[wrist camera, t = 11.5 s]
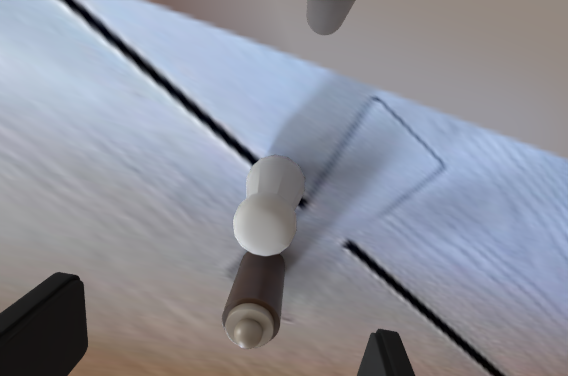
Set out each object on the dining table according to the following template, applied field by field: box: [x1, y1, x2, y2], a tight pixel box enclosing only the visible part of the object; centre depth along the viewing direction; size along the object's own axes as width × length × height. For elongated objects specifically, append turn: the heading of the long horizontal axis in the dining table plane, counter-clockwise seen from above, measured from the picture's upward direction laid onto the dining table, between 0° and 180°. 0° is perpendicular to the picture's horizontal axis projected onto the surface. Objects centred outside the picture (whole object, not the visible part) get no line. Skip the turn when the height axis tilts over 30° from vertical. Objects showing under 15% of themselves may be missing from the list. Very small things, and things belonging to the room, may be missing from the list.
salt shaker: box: [233, 155, 305, 256], centre depth 25 cm, size 6×6×13 cm
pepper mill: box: [222, 251, 285, 349], centre depth 29 cm, size 5×5×11 cm
